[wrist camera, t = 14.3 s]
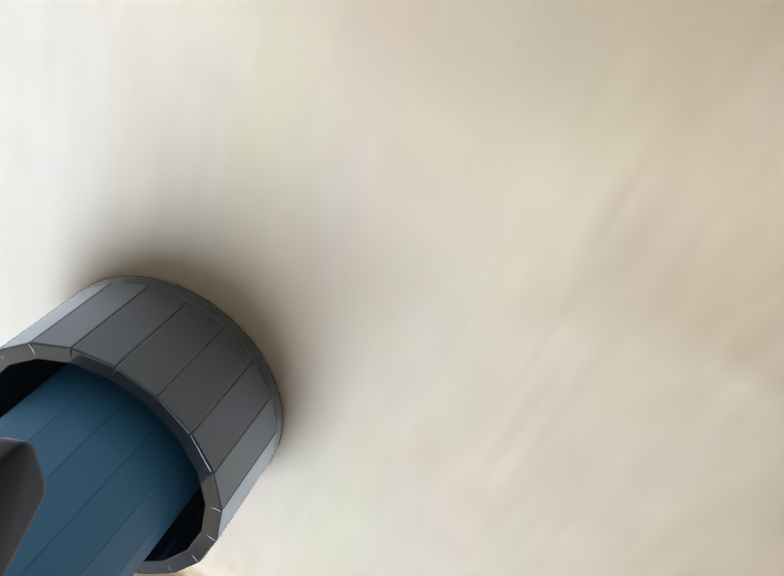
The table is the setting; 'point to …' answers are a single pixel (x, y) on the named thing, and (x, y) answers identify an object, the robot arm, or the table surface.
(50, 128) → the table surface
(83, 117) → the table surface
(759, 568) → the table surface
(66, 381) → the bottle
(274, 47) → the table surface
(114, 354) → the cup holder
